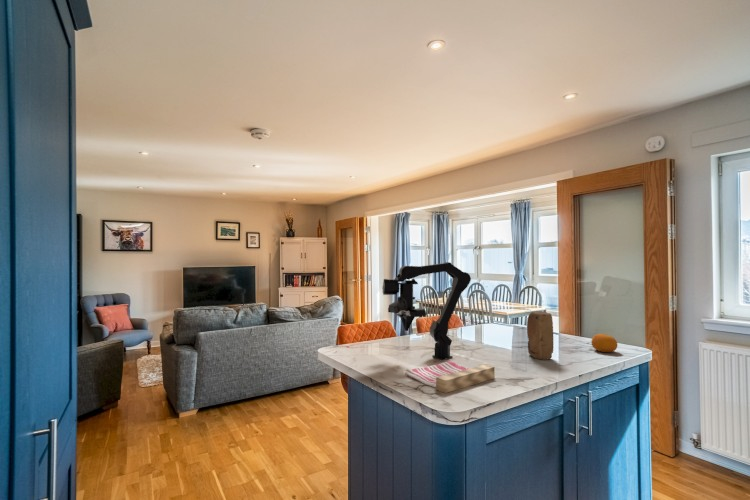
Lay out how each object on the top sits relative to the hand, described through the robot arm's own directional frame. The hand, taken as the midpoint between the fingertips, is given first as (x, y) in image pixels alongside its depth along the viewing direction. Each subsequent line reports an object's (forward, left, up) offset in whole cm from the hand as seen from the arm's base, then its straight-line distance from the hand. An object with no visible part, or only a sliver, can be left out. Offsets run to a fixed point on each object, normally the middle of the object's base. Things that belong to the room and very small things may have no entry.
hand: (406, 330), depth 163 cm
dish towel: (+6, +26, -13) cm, 30 cm away
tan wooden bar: (+5, +37, -12) cm, 39 cm away
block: (-49, +33, -12) cm, 60 cm away
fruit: (-84, +45, -12) cm, 96 cm away
